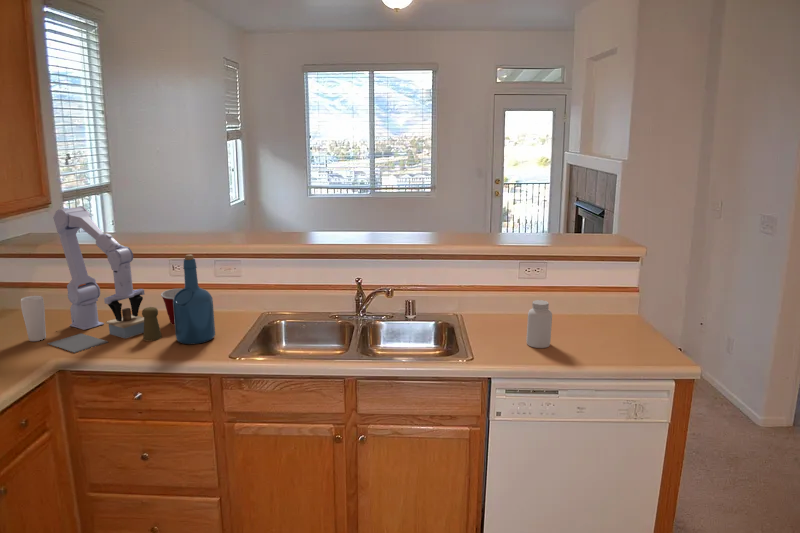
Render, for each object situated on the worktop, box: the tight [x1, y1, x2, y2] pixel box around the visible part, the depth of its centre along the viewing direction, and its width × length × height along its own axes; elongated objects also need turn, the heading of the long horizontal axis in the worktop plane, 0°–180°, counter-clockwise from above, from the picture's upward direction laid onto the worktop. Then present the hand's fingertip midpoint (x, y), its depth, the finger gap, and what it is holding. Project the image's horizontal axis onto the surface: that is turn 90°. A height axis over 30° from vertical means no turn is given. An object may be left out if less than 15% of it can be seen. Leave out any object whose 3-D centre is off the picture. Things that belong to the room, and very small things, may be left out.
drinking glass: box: [20, 295, 47, 342], centre depth 210 cm, size 7×7×15 cm
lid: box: [105, 307, 144, 328], centre depth 217 cm, size 10×10×5 cm
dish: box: [108, 322, 144, 339], centre depth 218 cm, size 9×9×4 cm
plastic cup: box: [160, 288, 183, 326], centre depth 228 cm, size 11×11×12 cm
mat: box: [46, 332, 109, 354], centre depth 208 cm, size 16×12×1 cm
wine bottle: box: [173, 253, 216, 345], centre depth 209 cm, size 14×13×30 cm
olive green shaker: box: [141, 306, 162, 342], centre depth 212 cm, size 6×6×11 cm
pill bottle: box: [525, 299, 553, 349], centre depth 204 cm, size 8×8×15 cm
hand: (127, 318), depth 217 cm, fingers open, 6 cm apart
